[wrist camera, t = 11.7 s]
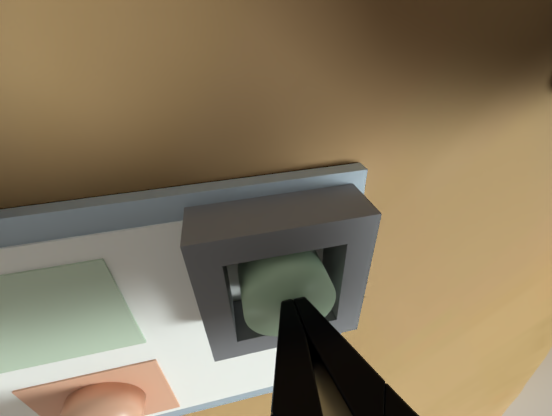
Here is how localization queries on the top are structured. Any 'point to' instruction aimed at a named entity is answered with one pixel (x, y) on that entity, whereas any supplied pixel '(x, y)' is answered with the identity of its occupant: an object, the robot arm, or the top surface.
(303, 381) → the robot arm
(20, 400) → the board with colored squares
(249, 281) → the button
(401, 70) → the top surface
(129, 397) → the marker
